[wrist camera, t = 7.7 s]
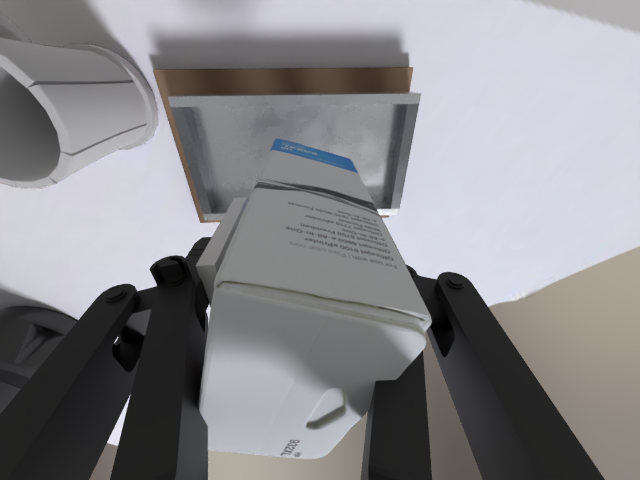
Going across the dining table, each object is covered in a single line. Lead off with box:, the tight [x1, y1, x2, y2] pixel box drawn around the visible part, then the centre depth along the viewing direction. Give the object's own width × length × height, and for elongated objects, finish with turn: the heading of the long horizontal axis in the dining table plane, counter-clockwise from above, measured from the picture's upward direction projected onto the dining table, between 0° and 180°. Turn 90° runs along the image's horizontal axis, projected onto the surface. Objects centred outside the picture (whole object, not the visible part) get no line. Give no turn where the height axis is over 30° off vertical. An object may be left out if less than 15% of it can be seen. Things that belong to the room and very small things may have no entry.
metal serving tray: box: [168, 91, 421, 220], centre depth 27 cm, size 22×12×3 cm, turn 90°
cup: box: [0, 13, 158, 189], centre depth 20 cm, size 10×9×12 cm
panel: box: [153, 67, 413, 223], centre depth 28 cm, size 24×16×1 cm, turn 90°
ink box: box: [198, 139, 432, 459], centre depth 12 cm, size 8×5×12 cm, turn 162°
